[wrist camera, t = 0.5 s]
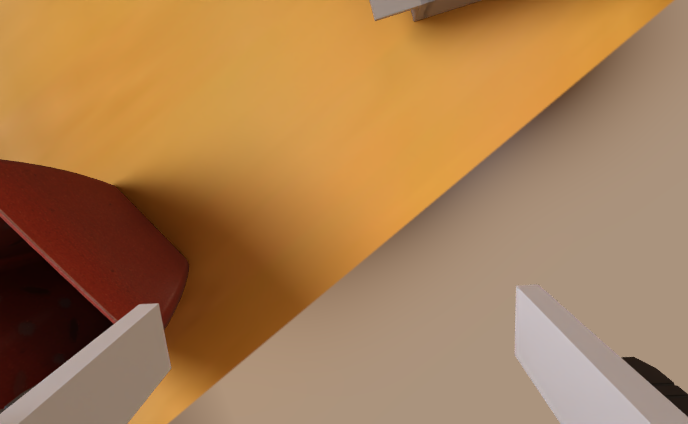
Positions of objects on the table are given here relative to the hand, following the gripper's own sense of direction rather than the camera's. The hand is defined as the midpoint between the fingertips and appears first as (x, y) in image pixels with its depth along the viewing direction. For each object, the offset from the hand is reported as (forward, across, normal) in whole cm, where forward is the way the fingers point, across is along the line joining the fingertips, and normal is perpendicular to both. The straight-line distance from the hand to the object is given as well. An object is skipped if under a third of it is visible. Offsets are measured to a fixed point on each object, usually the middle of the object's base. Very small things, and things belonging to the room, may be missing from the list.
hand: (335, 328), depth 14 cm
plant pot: (+27, -28, -6) cm, 39 cm away
